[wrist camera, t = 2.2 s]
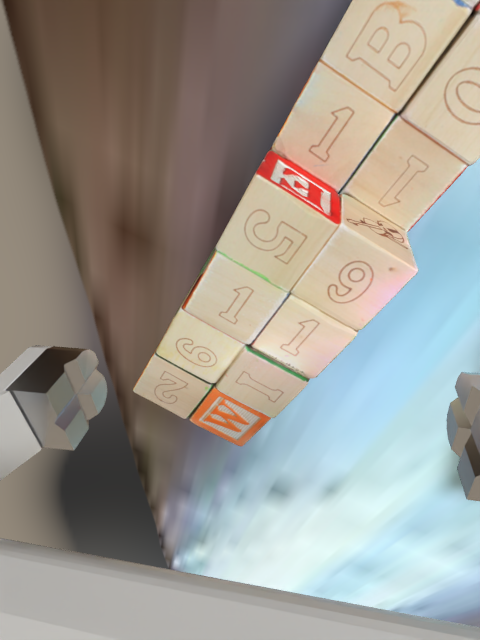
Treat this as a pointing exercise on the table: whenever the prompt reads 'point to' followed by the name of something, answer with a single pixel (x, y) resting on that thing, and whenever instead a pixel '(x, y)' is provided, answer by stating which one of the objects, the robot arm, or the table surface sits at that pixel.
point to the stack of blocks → (326, 215)
